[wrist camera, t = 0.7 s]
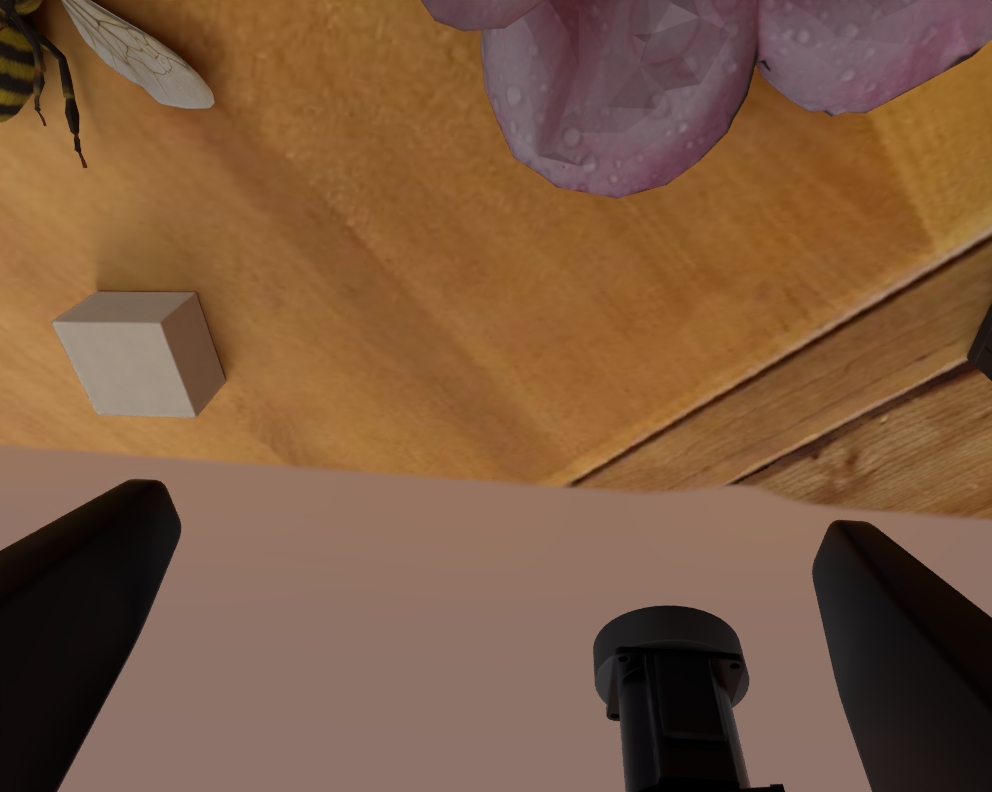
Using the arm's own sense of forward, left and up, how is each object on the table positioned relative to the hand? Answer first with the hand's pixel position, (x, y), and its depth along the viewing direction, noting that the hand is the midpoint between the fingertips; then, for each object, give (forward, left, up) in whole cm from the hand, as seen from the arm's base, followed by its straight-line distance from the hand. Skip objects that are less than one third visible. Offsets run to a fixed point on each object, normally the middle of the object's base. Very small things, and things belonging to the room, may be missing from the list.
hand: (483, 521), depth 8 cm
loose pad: (-5, +14, -14) cm, 21 cm away
